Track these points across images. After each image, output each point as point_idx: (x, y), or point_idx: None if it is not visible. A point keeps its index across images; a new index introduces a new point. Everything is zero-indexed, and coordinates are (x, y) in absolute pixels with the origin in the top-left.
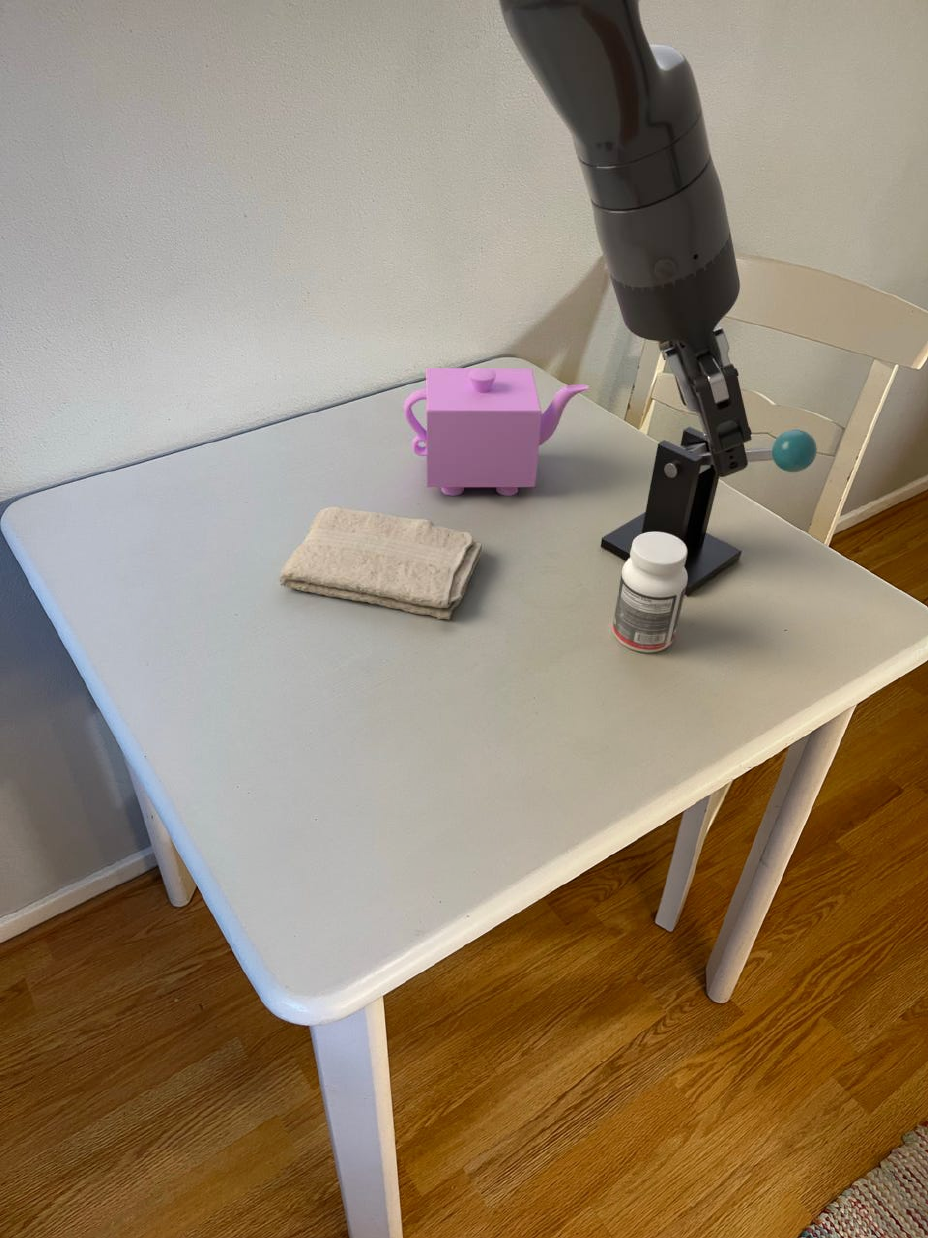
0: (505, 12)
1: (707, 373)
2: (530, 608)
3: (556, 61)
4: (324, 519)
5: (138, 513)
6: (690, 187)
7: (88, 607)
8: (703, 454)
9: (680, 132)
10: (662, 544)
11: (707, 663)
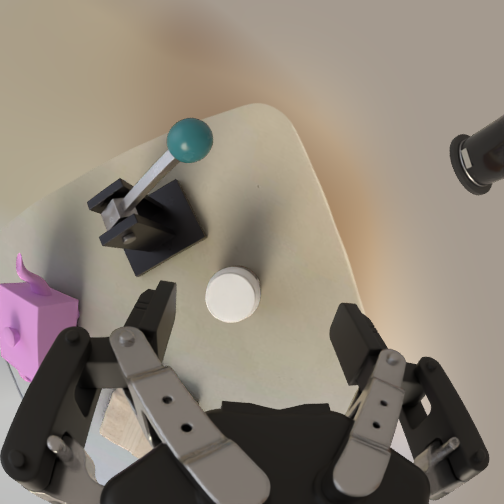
0: None
1: (447, 490)
2: (194, 352)
3: None
4: (111, 438)
5: (100, 482)
6: None
7: None
8: (125, 206)
9: None
10: (227, 294)
11: (277, 256)
